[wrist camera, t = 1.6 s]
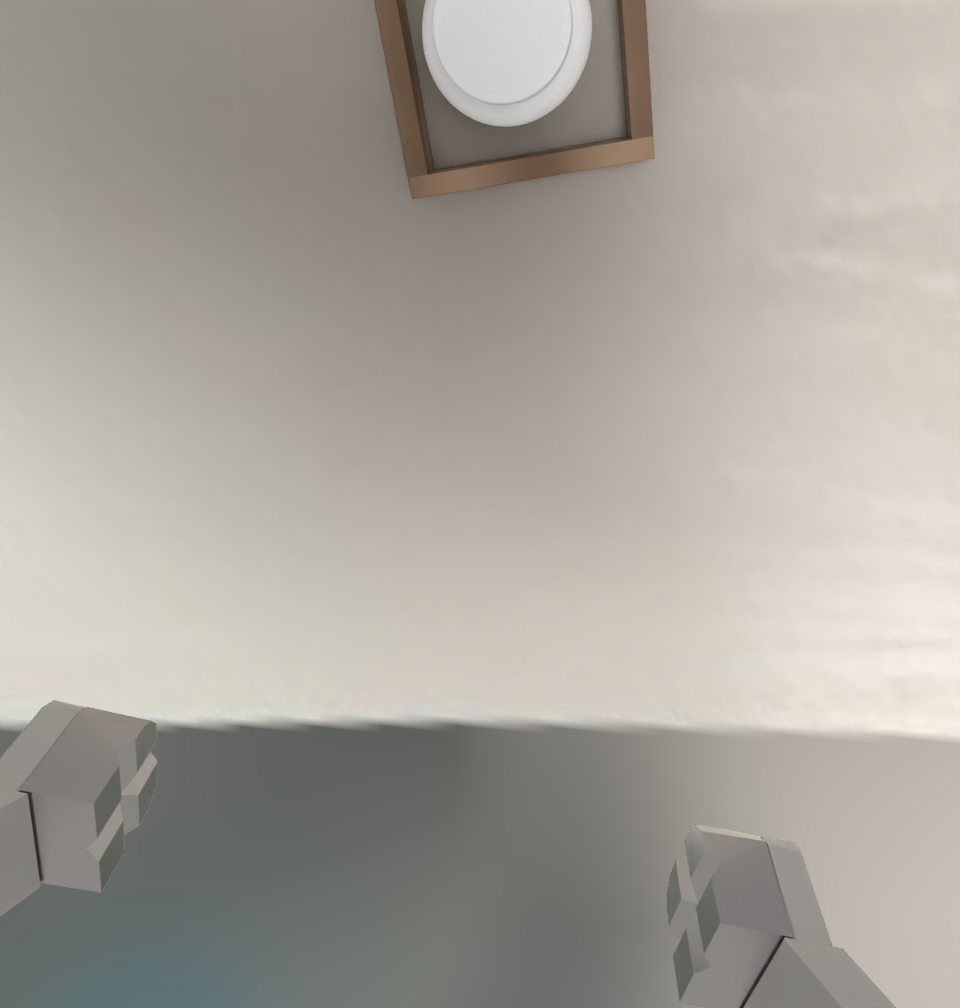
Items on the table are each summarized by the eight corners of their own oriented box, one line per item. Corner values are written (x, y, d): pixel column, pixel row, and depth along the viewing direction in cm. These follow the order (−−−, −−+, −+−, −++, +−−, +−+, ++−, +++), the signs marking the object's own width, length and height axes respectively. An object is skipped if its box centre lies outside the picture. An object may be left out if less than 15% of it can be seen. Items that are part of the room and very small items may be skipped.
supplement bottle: (437, -29, 30) (390, -76, 21) (580, -52, 29) (591, -111, 21) (456, 128, 32) (421, 142, 24) (589, 110, 32) (602, 118, 23)
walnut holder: (419, 193, 34) (412, 199, 32) (369, -81, 29) (357, -91, 27) (648, 154, 32) (654, 158, 30) (631, -139, 28) (636, -154, 26)
